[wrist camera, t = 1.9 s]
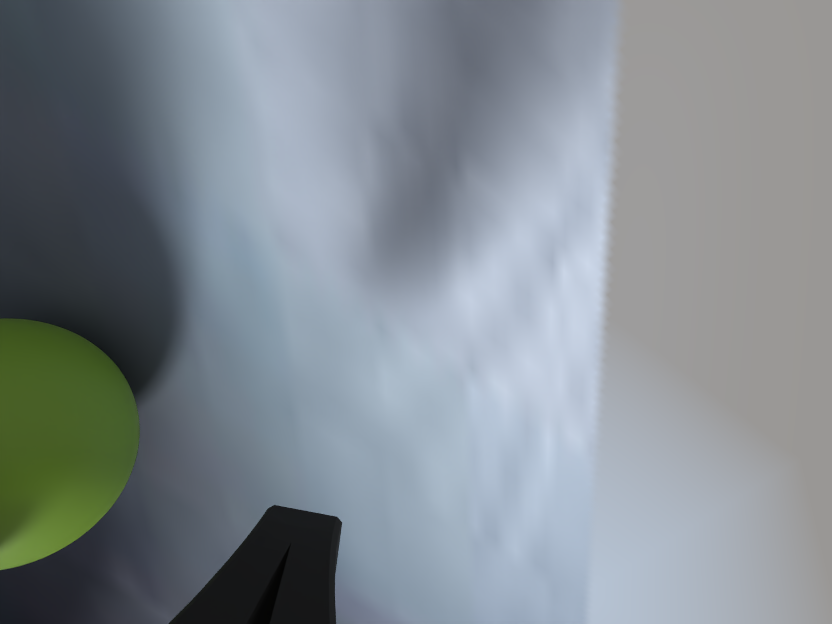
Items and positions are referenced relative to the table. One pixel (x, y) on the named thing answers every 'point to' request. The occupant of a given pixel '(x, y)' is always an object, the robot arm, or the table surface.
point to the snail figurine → (58, 438)
